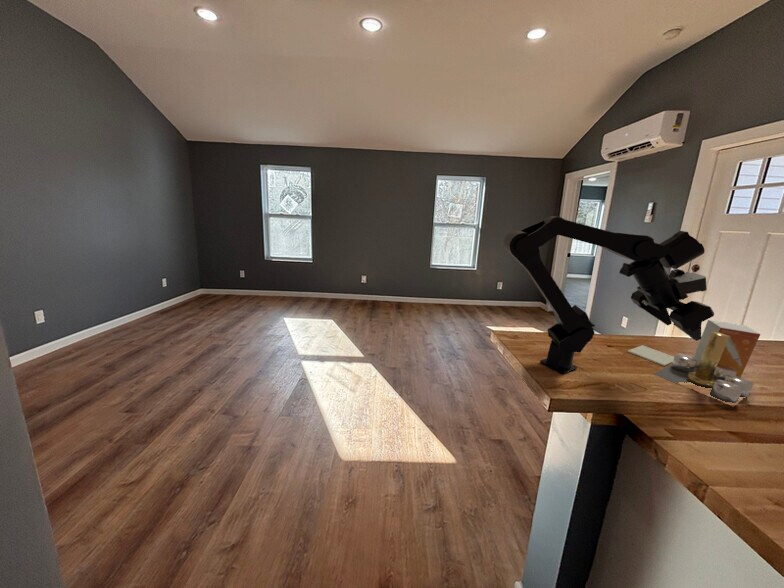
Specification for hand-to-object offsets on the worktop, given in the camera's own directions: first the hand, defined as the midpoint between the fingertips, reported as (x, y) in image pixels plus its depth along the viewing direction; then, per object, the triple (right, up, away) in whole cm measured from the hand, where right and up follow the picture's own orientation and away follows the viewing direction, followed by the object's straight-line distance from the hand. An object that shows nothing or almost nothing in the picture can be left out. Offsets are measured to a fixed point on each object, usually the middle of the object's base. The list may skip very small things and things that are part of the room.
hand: (683, 331), depth 77 cm
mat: (+7, -13, +2) cm, 15 cm away
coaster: (+5, -9, +15) cm, 18 cm away
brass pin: (+6, -13, +2) cm, 14 cm away
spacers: (+7, -13, +2) cm, 15 cm away
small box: (+18, -12, +10) cm, 23 cm away
